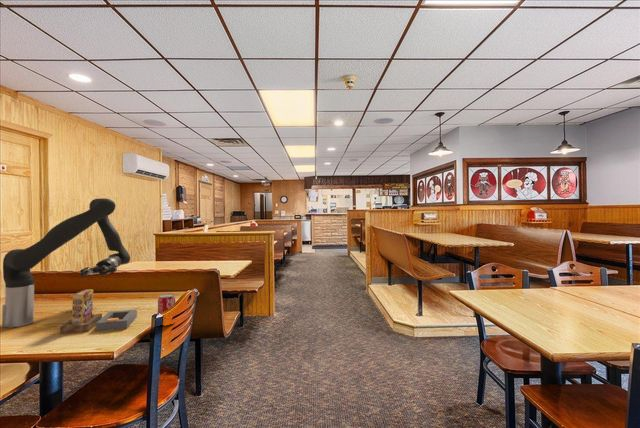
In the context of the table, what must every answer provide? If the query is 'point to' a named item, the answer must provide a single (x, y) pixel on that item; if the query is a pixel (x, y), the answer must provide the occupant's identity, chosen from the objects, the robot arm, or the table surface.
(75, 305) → the candy box
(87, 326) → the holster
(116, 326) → the dock
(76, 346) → the table surface
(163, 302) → the soda can
